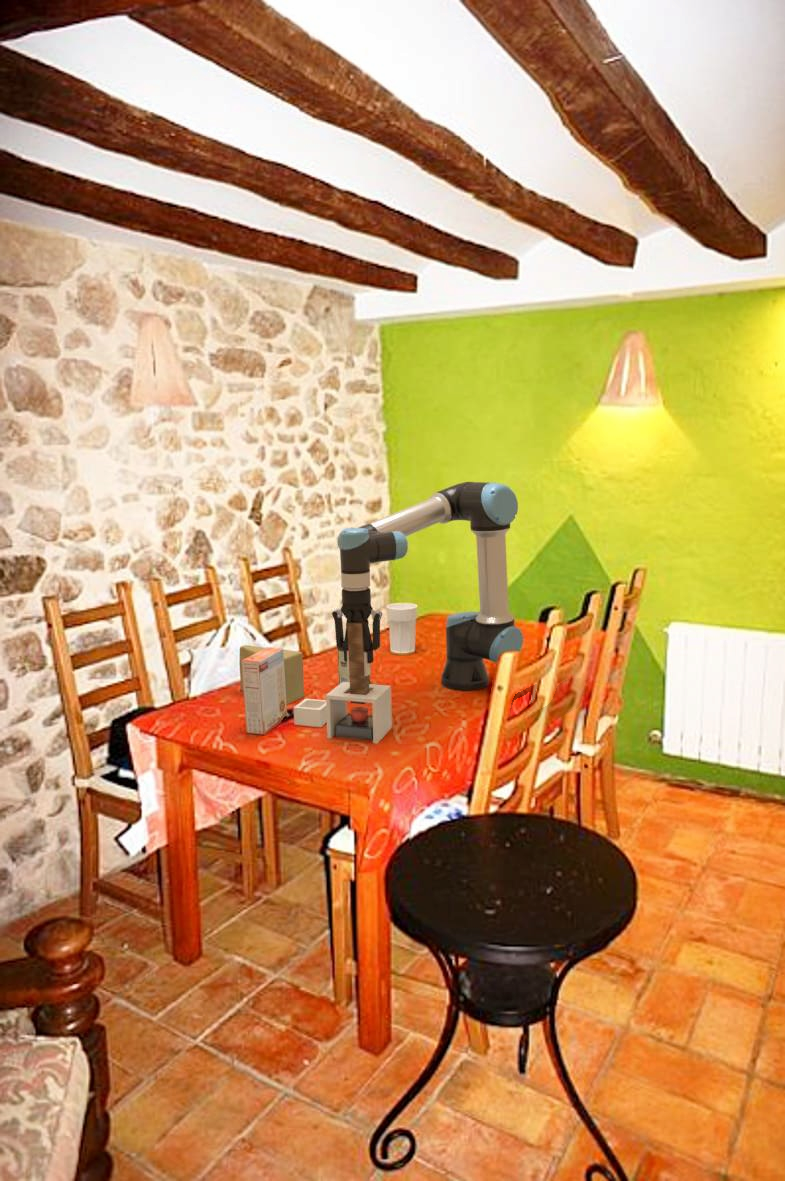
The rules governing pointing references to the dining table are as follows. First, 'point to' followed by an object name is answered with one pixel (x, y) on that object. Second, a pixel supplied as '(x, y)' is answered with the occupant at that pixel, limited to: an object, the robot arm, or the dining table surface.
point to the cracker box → (264, 690)
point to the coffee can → (343, 668)
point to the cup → (402, 627)
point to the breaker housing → (355, 728)
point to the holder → (310, 713)
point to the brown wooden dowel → (357, 660)
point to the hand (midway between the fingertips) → (359, 673)
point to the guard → (376, 696)
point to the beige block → (291, 668)
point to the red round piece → (359, 714)
